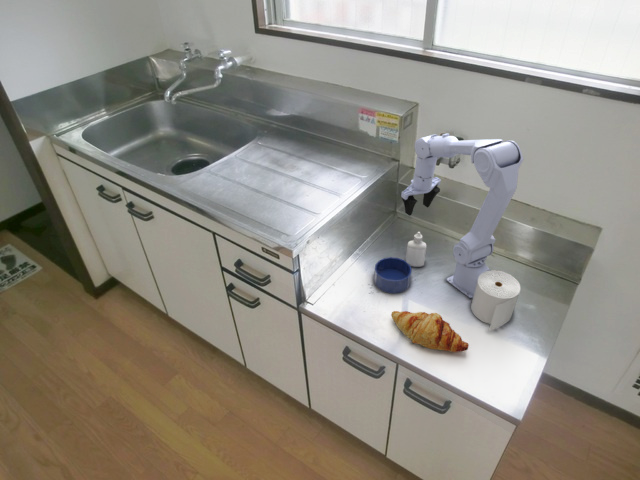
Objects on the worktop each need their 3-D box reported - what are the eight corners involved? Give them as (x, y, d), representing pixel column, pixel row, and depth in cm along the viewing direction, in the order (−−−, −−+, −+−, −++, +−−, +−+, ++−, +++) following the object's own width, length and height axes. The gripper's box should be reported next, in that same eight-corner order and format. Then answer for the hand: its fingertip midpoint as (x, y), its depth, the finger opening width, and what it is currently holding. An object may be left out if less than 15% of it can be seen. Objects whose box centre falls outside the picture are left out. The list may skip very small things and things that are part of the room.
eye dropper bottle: (418, 270, 138) (423, 239, 130) (403, 263, 141) (406, 231, 133) (426, 263, 140) (431, 232, 133) (410, 256, 143) (414, 225, 136)
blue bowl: (417, 283, 133) (419, 271, 130) (390, 298, 129) (391, 286, 126) (393, 264, 140) (394, 252, 137) (366, 278, 136) (367, 266, 133)
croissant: (385, 333, 123) (379, 324, 116) (401, 301, 126) (396, 290, 119) (461, 368, 113) (459, 361, 106) (476, 333, 116) (476, 323, 109)
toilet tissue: (497, 293, 129) (505, 267, 123) (522, 324, 120) (532, 297, 114) (463, 300, 127) (470, 274, 121) (486, 332, 118) (494, 305, 112)
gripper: (432, 160, 141) (425, 196, 150) (396, 174, 134) (391, 210, 143) (448, 170, 136) (440, 206, 145) (413, 185, 130) (406, 222, 139)
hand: (417, 209), depth 144 cm, fingers open, 7 cm apart
